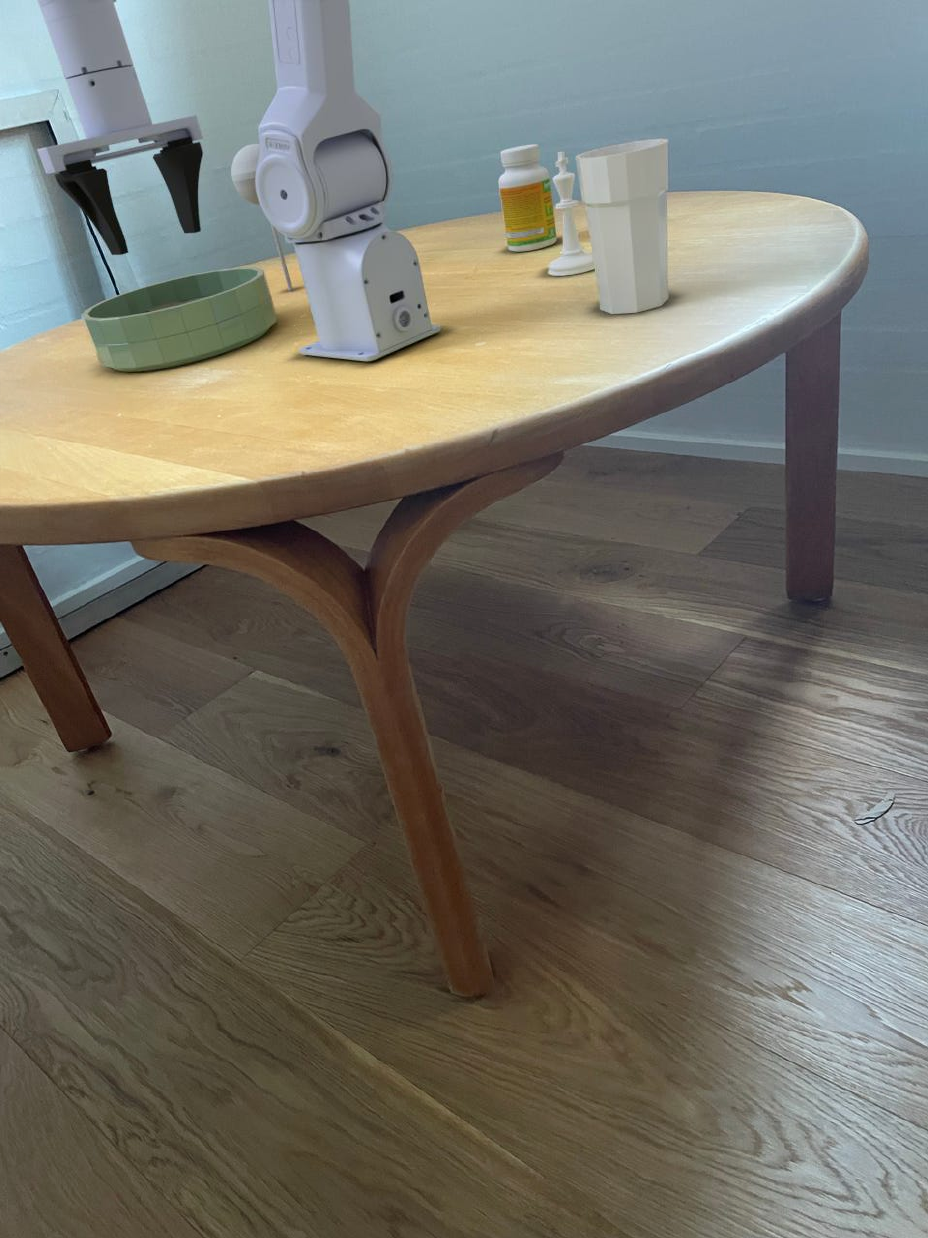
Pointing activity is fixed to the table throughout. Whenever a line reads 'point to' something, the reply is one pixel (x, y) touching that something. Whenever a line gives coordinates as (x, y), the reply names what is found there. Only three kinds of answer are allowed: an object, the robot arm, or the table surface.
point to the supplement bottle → (526, 200)
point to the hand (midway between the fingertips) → (157, 242)
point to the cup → (627, 222)
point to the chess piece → (568, 227)
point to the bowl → (181, 320)
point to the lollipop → (252, 187)
